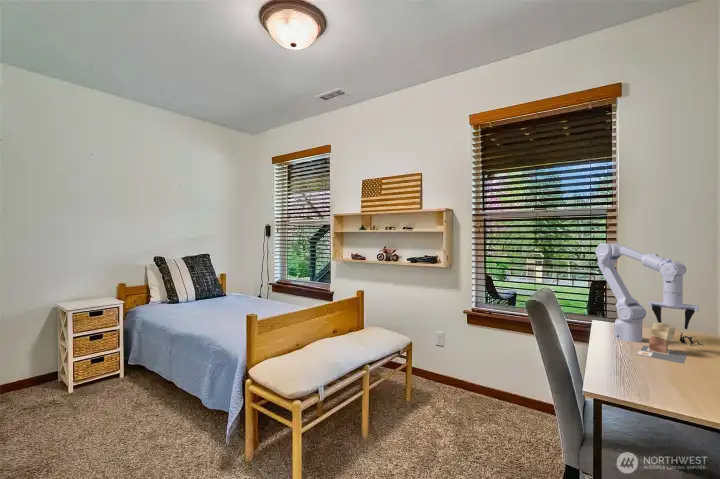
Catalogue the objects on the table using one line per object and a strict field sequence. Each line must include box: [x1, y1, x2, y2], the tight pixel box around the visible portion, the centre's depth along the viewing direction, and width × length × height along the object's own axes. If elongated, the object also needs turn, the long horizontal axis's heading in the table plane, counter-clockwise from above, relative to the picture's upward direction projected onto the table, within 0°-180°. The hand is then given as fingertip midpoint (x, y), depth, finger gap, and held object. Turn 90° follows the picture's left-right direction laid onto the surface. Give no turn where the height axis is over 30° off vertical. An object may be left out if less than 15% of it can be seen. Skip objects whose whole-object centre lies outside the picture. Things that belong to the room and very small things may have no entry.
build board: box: [636, 345, 688, 365], centre depth 131 cm, size 13×16×1 cm
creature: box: [679, 331, 705, 348], centre depth 143 cm, size 8×5×8 cm
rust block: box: [648, 335, 669, 354], centre depth 135 cm, size 5×5×5 cm
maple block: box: [650, 322, 676, 341], centre depth 134 cm, size 5×5×5 cm
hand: (672, 326), depth 136 cm, fingers open, 7 cm apart
